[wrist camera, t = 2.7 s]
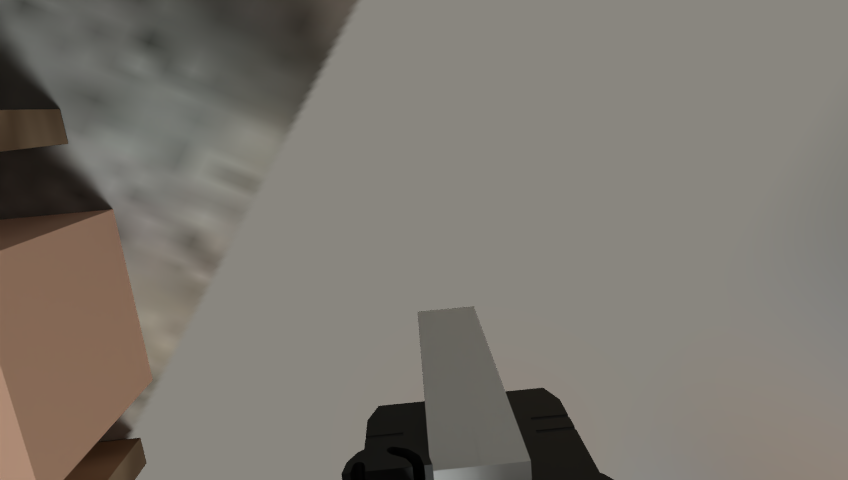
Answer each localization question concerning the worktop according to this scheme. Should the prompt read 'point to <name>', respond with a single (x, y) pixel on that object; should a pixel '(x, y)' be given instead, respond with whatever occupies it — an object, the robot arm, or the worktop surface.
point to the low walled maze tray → (106, 461)
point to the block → (64, 341)
